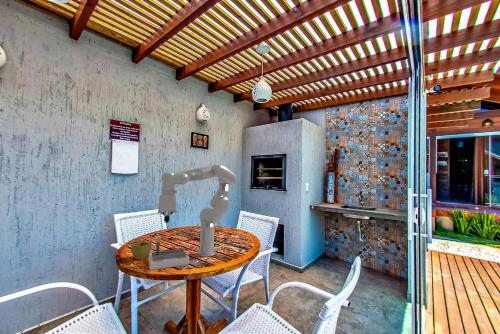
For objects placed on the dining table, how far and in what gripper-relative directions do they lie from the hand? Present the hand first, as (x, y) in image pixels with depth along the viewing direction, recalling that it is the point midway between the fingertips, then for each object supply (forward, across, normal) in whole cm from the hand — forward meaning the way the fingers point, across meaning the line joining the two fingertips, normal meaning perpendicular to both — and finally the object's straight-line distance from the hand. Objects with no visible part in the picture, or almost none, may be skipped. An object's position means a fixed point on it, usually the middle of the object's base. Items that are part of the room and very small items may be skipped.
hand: (166, 222), depth 135 cm
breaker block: (+25, -2, 0) cm, 25 cm away
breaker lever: (+21, +4, 0) cm, 21 cm away
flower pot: (+25, +13, -15) cm, 32 cm away
